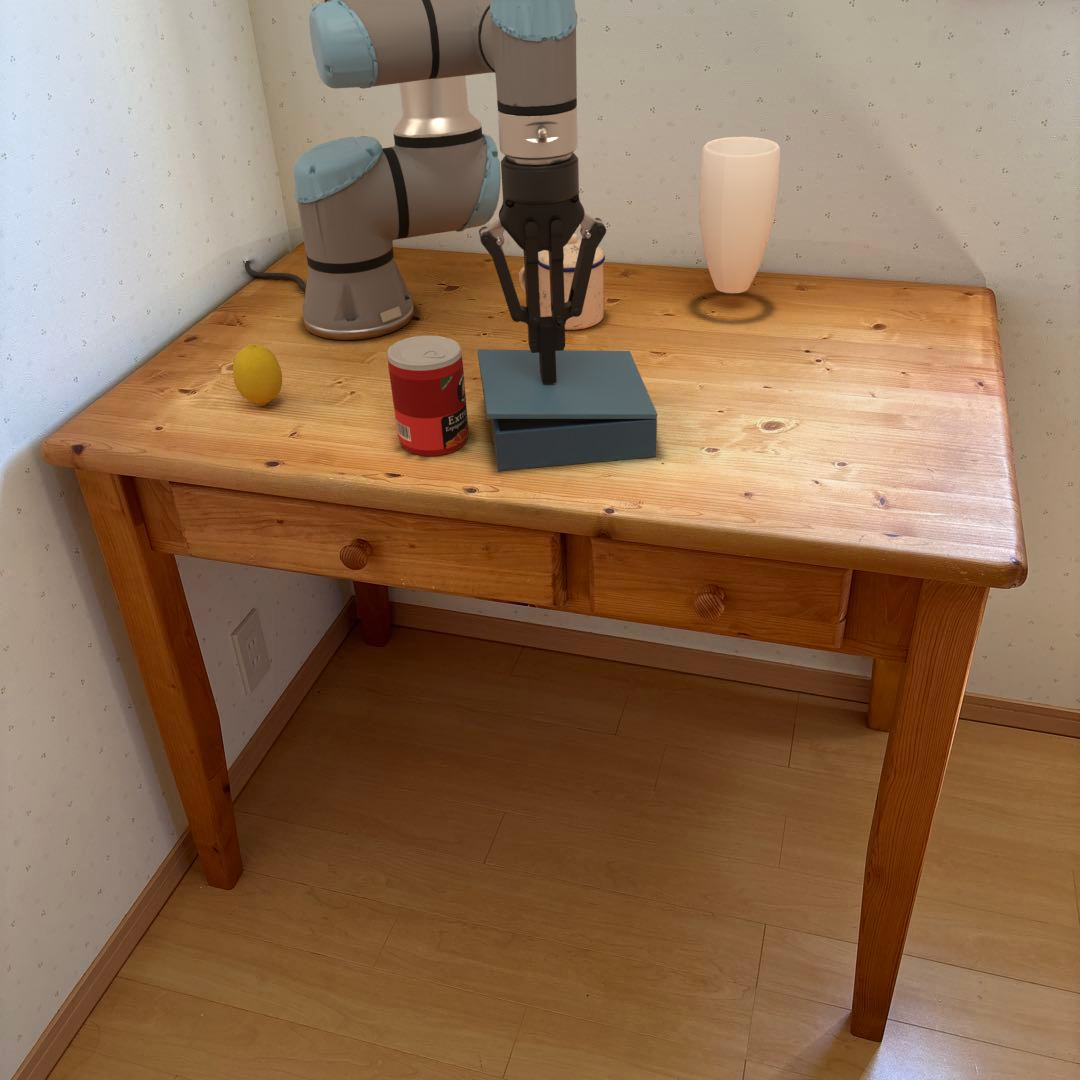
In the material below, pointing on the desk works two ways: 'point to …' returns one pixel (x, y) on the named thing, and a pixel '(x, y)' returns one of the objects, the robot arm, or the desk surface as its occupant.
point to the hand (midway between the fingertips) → (548, 377)
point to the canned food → (428, 394)
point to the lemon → (257, 374)
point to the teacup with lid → (594, 294)
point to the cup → (737, 207)
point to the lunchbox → (570, 441)
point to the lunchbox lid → (563, 386)
